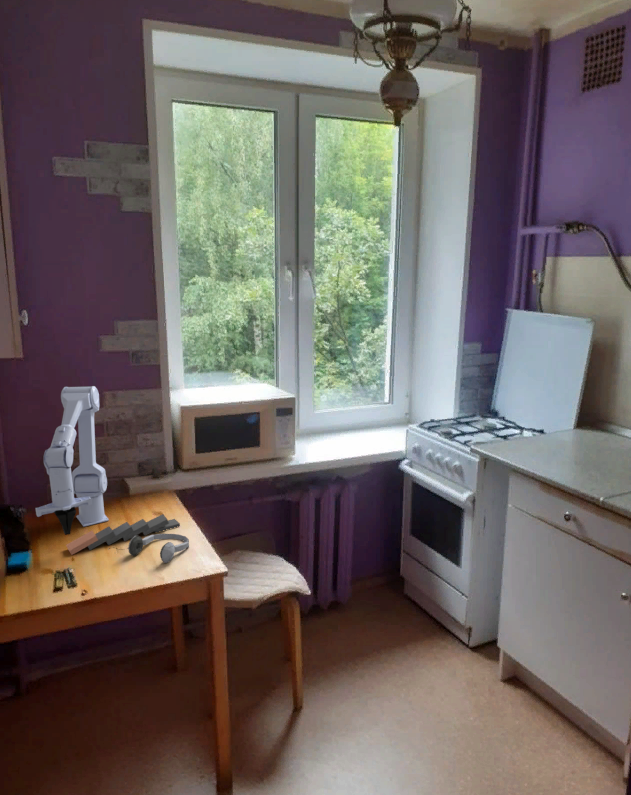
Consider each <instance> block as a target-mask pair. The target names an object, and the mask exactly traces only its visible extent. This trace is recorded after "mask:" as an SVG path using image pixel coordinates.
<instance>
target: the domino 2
mask: <svg viewBox="0 0 631 795" xmlns="http://www.w3.org/2000/svg"><path fill="white" fill-rule="evenodd" d="M94 534H95V535H96V537H97V539H98V541H96V542H94V543H92V544H91V545H89V546H87V547H86V548H88V550H89V551H91V550H94V549H95V548H96V547H99V546H100V545H102V544H104V543H106V541H107V540H109V539H111V538H112V537H114V536H115V534H114V532H113V529H112V528H111V526H107V527H105V528H103V529H101V530H100V531H98V532H96V533H94Z"/></svg>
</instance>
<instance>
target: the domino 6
mask: <svg viewBox="0 0 631 795" xmlns="http://www.w3.org/2000/svg"><path fill="white" fill-rule="evenodd" d="M167 520H168V522H169V524H167V525H165V526H163V527H161V528H159V529H157V530H155V531H153V533H155V532H157V533H160V532H159V531H161V532H164V531H163V530H165V531H167V530H166V529H169V530H171V529H170V528H172V529H175V528H174V527H176V528H178V527H177V526H180V527H181V523H180V522H179V521H178V520H177V519H175V518H173V519H172V518H171V519H167Z"/></svg>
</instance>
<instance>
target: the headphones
mask: <svg viewBox="0 0 631 795" xmlns="http://www.w3.org/2000/svg"><path fill="white" fill-rule="evenodd" d="M171 539H173V540H174V539H175V540H179V541H183V543H179V544H176V545H174V543H173V542H171V541H168V542H166V543H165V544H164V545H162V547H161V549H160V553H159V557H160V560H161V562H163V563H165V564H168V563H169V562H171V560H172V559H173V558H174V556H175V553H178V552H182V551H185V550H186V549H187V548H189V547H190V540H189V538H188V537H187V536H185V535H181V534H179V533H176V534H175V533H159V534H157V533H155V534H151V535H147V536H144V538H142V537H141V536H140V535H136V536H134V537H132V538H130V540H129V544H128V547H127V549H128V553H129V555H131V556H133V557H135V556H137V555H139V553H141V552H142V550H143V549H144V546H146V545H148V544H150V543H151V542H153V541H155V540H171ZM110 549H111V547H109V548H108V549H107V551H109V550H110ZM112 549H116V550H118V551H119V550H120V551H121V550H122V551H123V550H124V548H123V549H122V548H120V549H119V548H116V547H114V546H113V547H112Z"/></svg>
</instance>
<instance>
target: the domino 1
mask: <svg viewBox="0 0 631 795" xmlns="http://www.w3.org/2000/svg"><path fill="white" fill-rule="evenodd" d="M95 534H96V533H94V530H91V531H90V530H89V531H88V532H86V533H85V534H83V535H81V536H79V537H78V538H76V539H74V540H71V542H69V543H67V544H65V546H66V547H67V550H68V551H69V553H70V555H71V556H73V555H75V554H76V553H78V552H80V551H83V549H85V548H88V547H87V546H89V545H91V544H92V543H94V542H96V541H98V539H97V537H96V535H95Z"/></svg>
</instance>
